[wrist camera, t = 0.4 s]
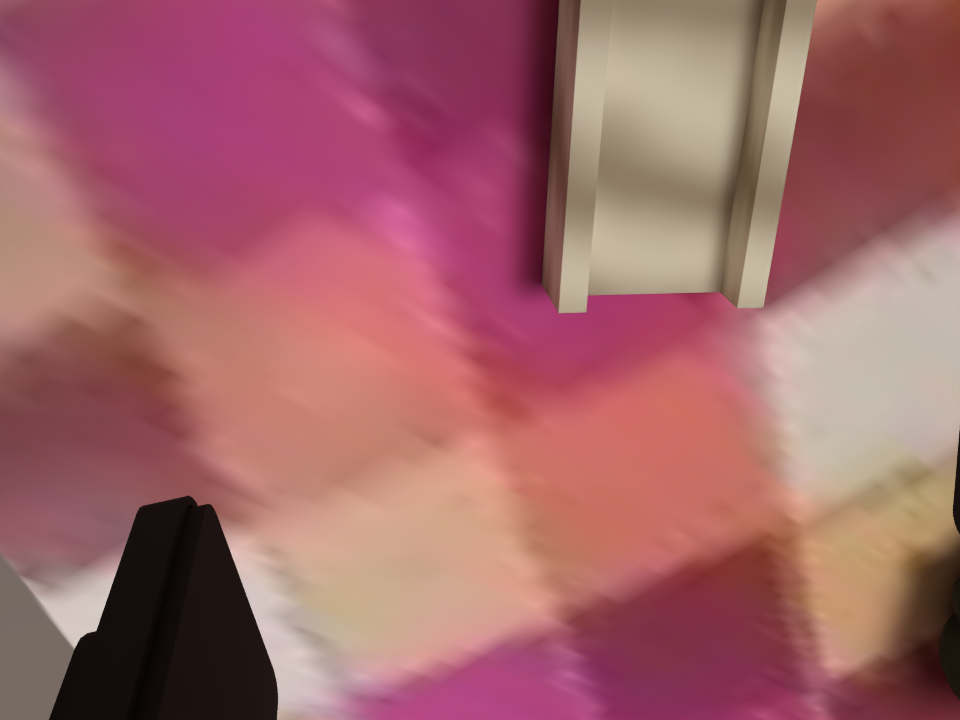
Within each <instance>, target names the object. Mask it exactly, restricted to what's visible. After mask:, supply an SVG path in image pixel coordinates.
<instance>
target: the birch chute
mask: <svg viewBox="0 0 960 720" xmlns="http://www.w3.org/2000/svg"><path fill="white" fill-rule="evenodd" d="M816 2H817V0H559V14H558V30H557V47H556V63H555V79H554V95H553V111H552V127H551V143H550V159H549V176H548V192H547V208H546V224H545V240H544V256H543V272H542V286H543V287H544V289H545V291H546V293H547V294H548V296H549V298H550V299H551V301H552V303H553V304H554V306H555V308H556V310H557V311H558V313H579V312H586V307H587V295H617V294H658V293H699V292H720V293H722V294H723V295H724V296H725V297H726V298H727V299H728V300H729V301H730V302H731V303H732V304H733V305H734V306H735V307H737V308H763V306H764V300H765V294H766V289H767V283H768V277H769V271H770V266H771V260H772V254H773V249H774V243H775V237H776V231H777V226H778V220H779V214H780V208H781V203H782V197H783V191H784V185H785V180H786V174H787V168H788V162H789V157H790V151H791V145H792V140H793V134H794V128H795V122H796V117H797V111H798V105H799V99H800V94H801V88H802V82H803V76H804V71H805V65H806V59H807V53H808V48H809V42H810V36H811V31H812V25H813V19H814V13H815V8H816Z"/></svg>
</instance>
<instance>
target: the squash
mask: <svg viewBox="0 0 960 720" xmlns="http://www.w3.org/2000/svg"><path fill="white" fill-rule="evenodd" d="M952 597H953V605H954V609H955V612H956V613H955V614H954V615H952V616H951V617H950V619H949V620H948V622H947V623H946V624H945V626H944V628H943V631H942V634H941V637H940V647H939V653H940V660H941V666H942V668H943V671H944V673H945V676H946V678H947V681H948V683H949V685H950V686H951V688H952V690H953V692H954V694H955V695H956V696H957V697H958V699H959V700H960V578H959V579H958V580H957V581H956V583H955V584H954V588H953V592H952Z"/></svg>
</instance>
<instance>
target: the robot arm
mask: <svg viewBox="0 0 960 720" xmlns="http://www.w3.org/2000/svg"><path fill="white" fill-rule="evenodd" d="M953 517H954V522H955V525H956V527H957V530H958V532H959V533H960V432H959V444H958V455H957V467H956V479H955V491H954V503H953ZM277 709H278V690H277V682H276V677H275V673H274V670H273V667H272V664H271V661H270V659H269V656H268V653H267V650H266V648H265V645H264V642H263V639H262V637H261V634H260V631H259V629H258V626H257V623H256V620H255V618H254V615H253V612H252V610H251V607H250V604H249V601H248V599H247V596H246V593H245V590H244V588H243V585H242V582H241V580H240V577H239V574H238V571H237V569H236V566H235V563H234V560H233V558H232V555H231V552H230V550H229V547H228V544H227V541H226V539H225V536H224V533H223V531H222V528H221V525H220V522H219V520H218V517H217V514H216V512H215V510H214V508H213V507H212V505H210V504H206V505H201V506H198V505H197V503H196V502H195V500H194V499H193V498H192V497H190V496H185V497H181V498H176V499H172V500H167V501H163V502H158V503H154V504H149V505H145V506H142V507H140V508H139V510H138V512H137V514H136V517H135V520H134V523H133V526H132V529H131V532H130V535H129V538H128V540H127V543H126V546H125V549H124V552H123V555H122V558H121V561H120V564H119V567H118V570H117V573H116V575H115V578H114V581H113V584H112V587H111V590H110V593H109V596H108V599H107V602H106V605H105V608H104V610H103V613H102V616H101V619H100V622H99V625H98V628H97V631H95V632H91V633H87V634H86V635H84V636H83V637H82V638H80V640H79V642H78V644H77V646H76V648H75V650H74V652H73V655H72V658H71V661H70V663H69V666H68V669H67V672H66V674H65V677H64V680H63V683H62V685H61V688H60V691H59V693H58V696H57V699H56V702H55V705H54V707H53V710H52V713H51V716H50V718H49V720H277Z"/></svg>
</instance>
